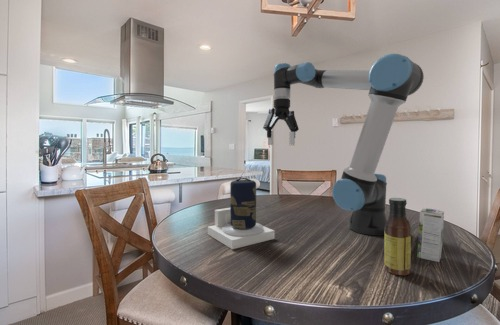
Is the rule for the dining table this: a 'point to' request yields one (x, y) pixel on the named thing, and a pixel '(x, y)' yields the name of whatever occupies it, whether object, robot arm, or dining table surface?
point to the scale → (237, 231)
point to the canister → (243, 203)
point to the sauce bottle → (397, 239)
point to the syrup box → (430, 234)
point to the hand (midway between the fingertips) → (281, 145)
